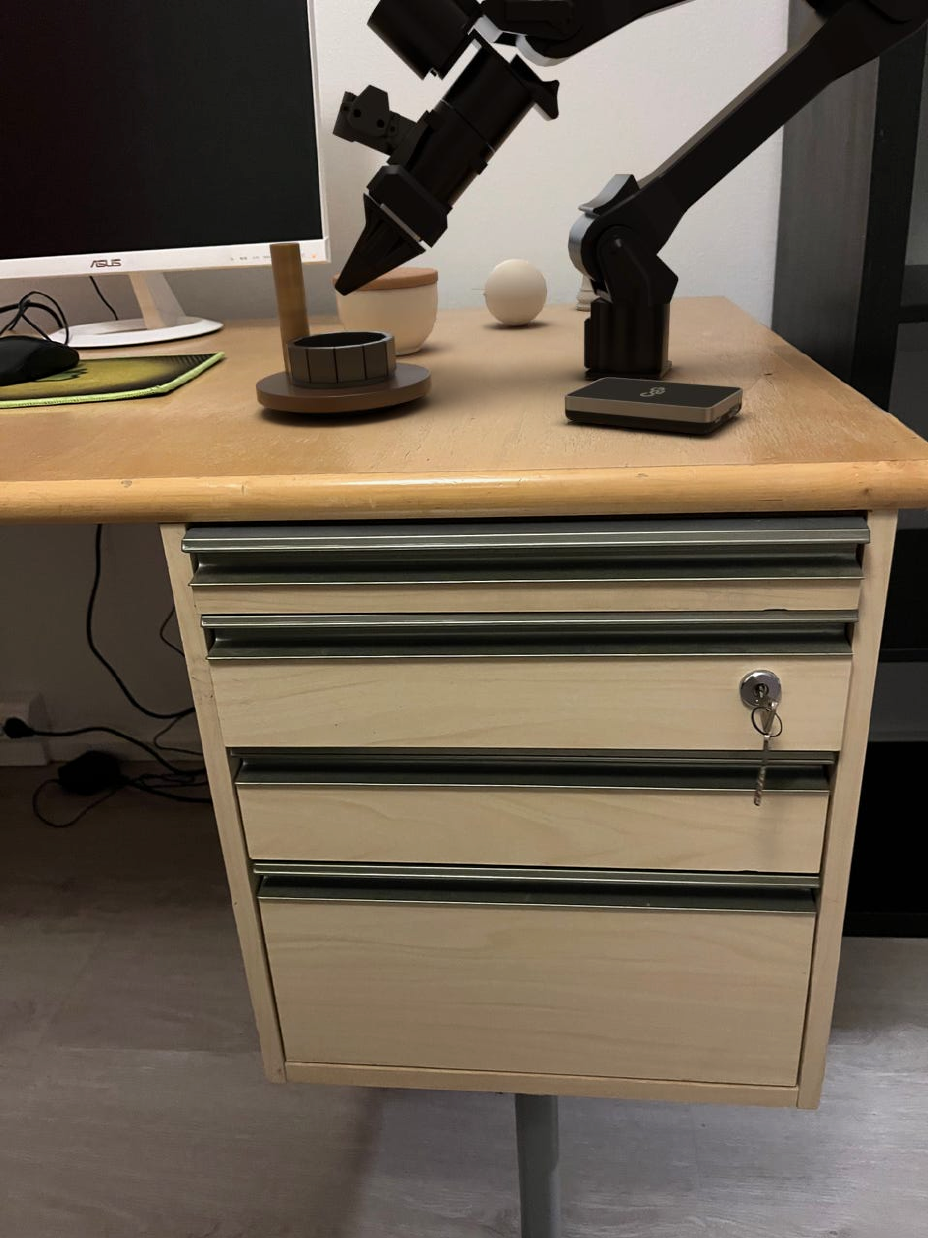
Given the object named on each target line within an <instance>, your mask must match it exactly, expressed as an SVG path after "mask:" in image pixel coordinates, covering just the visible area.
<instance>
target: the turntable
mask: <svg viewBox="0 0 928 1238" xmlns="http://www.w3.org/2000/svg"><path fill="white" fill-rule="evenodd" d="M268 247H269V255H270V260H271V261H270V263H271V270H272V278H273V286H274V294H275V302H276V310H277V316H278V324H279V333H280V340H281V341H280V342H281V349H282V355H283V356H282V357H283V365H284V371H280V372H276V373H273V374H270V375H268V376H265V377H263V378H262V379H260V380H258V382H256V384H255V390H256V398H257V402H258V403H259V405H261V406H263V407H264V408H268V409H271V410H275V411H281V412H289V413H290V412H291V413H300V412H303V413H328V412H346V411H357V410H366V409H373V408H379V407H385V406H390V405H393V406H394V405H398V404H404V403H406V402H410V401H413V400H415V399H419V398H420V397H423V396H424V395H426V394H428V393H429V392H430V391H431V389H432V373H431V371H430V370H429V369H428V368H426V367H425V366H422V365H419V364H414V363H408V362H400V361H397V355H396V352H395V340H394V336H393V335H391V334H390V333H388V332H379V331H345V330H339V331H328V332H319V333H314V334H313V333H312V334H311V330H310V323H309V314H308V304H307V297H306V288H305V278H304V271H303V261H302V253H301V244H300V242H298V241H297V242H296V241H295V242H293V241H292V242H291V241H290V242H278V243H277V242H276V243H270V244H269V245H268Z"/></svg>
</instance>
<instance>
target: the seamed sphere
mask: <svg viewBox="0 0 928 1238" xmlns="http://www.w3.org/2000/svg"><path fill="white" fill-rule="evenodd" d="M471 290H472V291H473V290H474V291H475V290H476V291H477V290H478V291H479V290H481V291H483V296H484V301H485V305H486V308H487V309H488V311H489V313H490V315H492V316H493V317H494V318H495V319H496V320H497V321H498V322H500V323H503V324H505V325H506V326H522V325H526V324H528V323H530V322H532V321H534V320H535V319H536V318H537V317H538V316H539V314H541V313H542V311H543V309H544V307H545V305H546V303H547V297H548V287H547V282H546V279H545V277H544V275H543V273H542V271H541V270H540V269H539V268H538V267H537V266H536V265H535V264H534V263H532V262H530V261H527V260H526V259H522V258H521V259H520V258H512V259H507V260H504V261H502V262H500V263H499V264H497V265H496V266H495V267H494V268H492V270H491V271H490V272H489V274H488V276H487V277H486V281H485V283H484V288H471Z"/></svg>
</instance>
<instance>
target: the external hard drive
mask: <svg viewBox="0 0 928 1238" xmlns="http://www.w3.org/2000/svg"><path fill="white" fill-rule="evenodd" d="M743 397H744V388H743V387H741V386H730V385H716V384H703V383H691V382H677V381H663V380H638V379H624V378H602V379H597V380H595V381H592V382H590V383H588V384H586V385H584V386H581V387H579V388H577V389H574V390H572V391H570V392H568V393H565V394H564V416H565V417H566V419H567V420H569V421H571V422H578V423H583V424H595V425H596V424H598V425H607V426H617V427H626V428H635V429H644V430H645V429H646V430H655V431H665V432H676V433H685V434H686V433H687V434H689V435H706V434H708V433H711V432H712V431H713V430H714V429H716V428H717V427H719V426H721V425H723V424H724V423H725V422H727V421H728V420H730V419H731V418H733V417H735V416H736V415H737V414H739V412H741V410H742V407H743Z"/></svg>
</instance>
